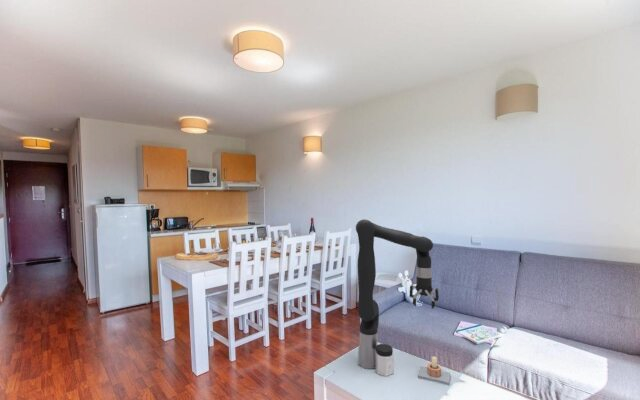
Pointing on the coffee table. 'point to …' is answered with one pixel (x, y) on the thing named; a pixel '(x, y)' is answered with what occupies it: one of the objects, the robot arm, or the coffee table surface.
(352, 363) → the coffee table surface
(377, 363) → the jar
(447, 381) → the post block
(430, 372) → the ring
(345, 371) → the coffee table surface
